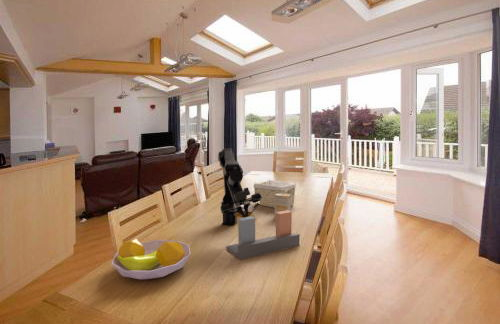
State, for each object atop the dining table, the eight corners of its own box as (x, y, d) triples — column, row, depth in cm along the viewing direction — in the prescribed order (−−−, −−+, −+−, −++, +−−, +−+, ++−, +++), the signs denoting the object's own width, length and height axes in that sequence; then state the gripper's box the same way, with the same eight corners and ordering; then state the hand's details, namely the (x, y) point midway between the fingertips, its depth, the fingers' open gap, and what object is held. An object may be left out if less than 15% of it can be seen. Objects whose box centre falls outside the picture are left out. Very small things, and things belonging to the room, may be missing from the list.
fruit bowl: (162, 248, 124) (161, 222, 122) (206, 266, 107) (205, 236, 105) (93, 274, 102) (90, 242, 101) (134, 302, 85) (132, 265, 84)
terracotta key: (275, 241, 126) (275, 212, 125) (286, 238, 129) (286, 210, 128) (279, 244, 123) (279, 214, 122) (291, 241, 126) (291, 212, 125)
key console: (226, 247, 123) (226, 236, 123) (282, 236, 136) (282, 225, 136) (239, 259, 112) (239, 247, 111) (299, 245, 125) (299, 234, 124)
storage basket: (252, 204, 194) (252, 182, 193) (267, 199, 206) (267, 179, 205) (281, 210, 178) (281, 186, 177) (296, 205, 190) (296, 183, 189)
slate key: (238, 249, 118) (237, 218, 117) (251, 246, 121) (251, 216, 119) (241, 252, 115) (241, 220, 114) (255, 249, 118) (255, 218, 116)
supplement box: (291, 217, 165) (291, 194, 163) (287, 219, 161) (287, 196, 159) (278, 215, 169) (278, 192, 168) (274, 217, 165) (274, 194, 163)
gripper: (215, 190, 125) (227, 226, 120) (256, 177, 128) (269, 210, 124) (216, 197, 135) (227, 229, 130) (254, 184, 139) (266, 215, 134)
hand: (247, 221), depth 129 cm, fingers closed
